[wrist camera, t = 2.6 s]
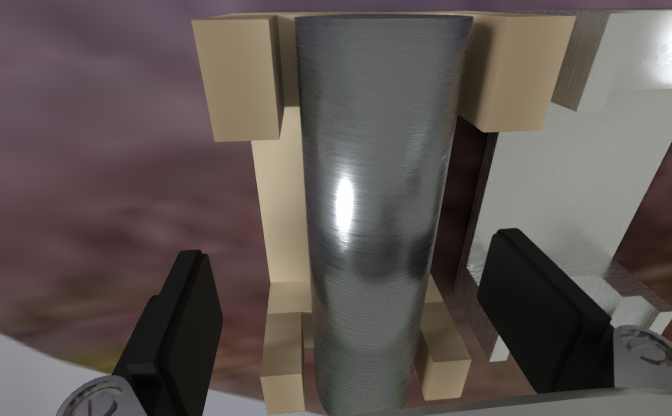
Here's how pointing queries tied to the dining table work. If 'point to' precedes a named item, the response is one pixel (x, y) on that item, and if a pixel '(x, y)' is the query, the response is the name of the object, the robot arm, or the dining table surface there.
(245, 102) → the bearing cradle
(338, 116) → the steel axle
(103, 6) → the dining table surface
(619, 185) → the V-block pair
